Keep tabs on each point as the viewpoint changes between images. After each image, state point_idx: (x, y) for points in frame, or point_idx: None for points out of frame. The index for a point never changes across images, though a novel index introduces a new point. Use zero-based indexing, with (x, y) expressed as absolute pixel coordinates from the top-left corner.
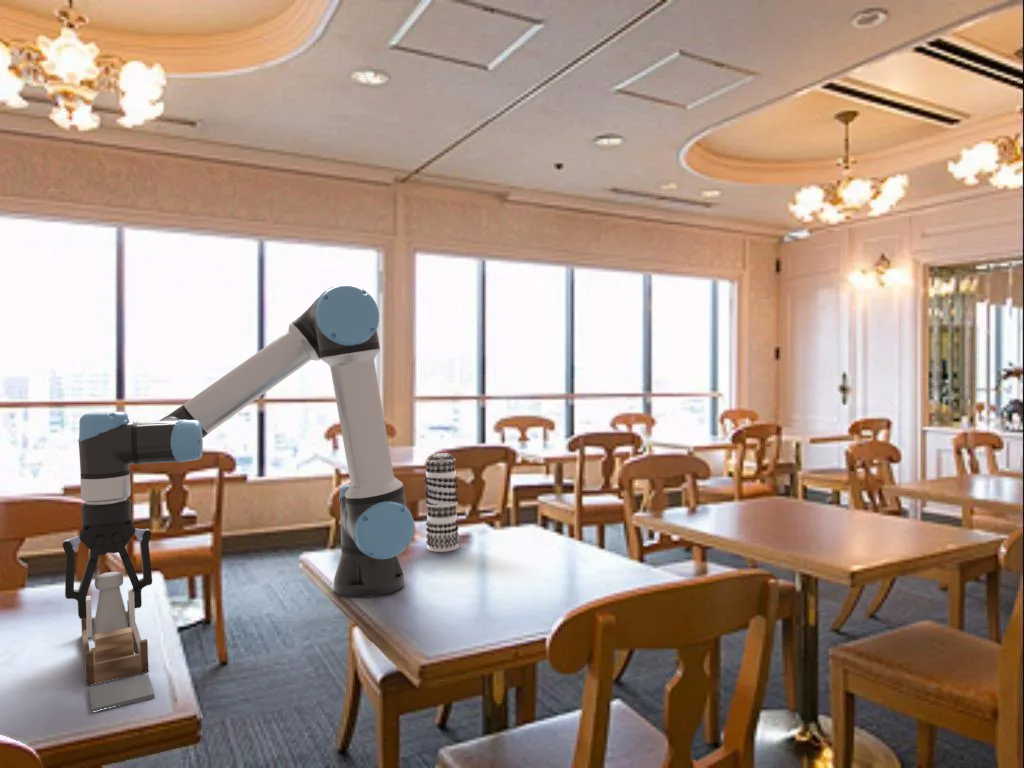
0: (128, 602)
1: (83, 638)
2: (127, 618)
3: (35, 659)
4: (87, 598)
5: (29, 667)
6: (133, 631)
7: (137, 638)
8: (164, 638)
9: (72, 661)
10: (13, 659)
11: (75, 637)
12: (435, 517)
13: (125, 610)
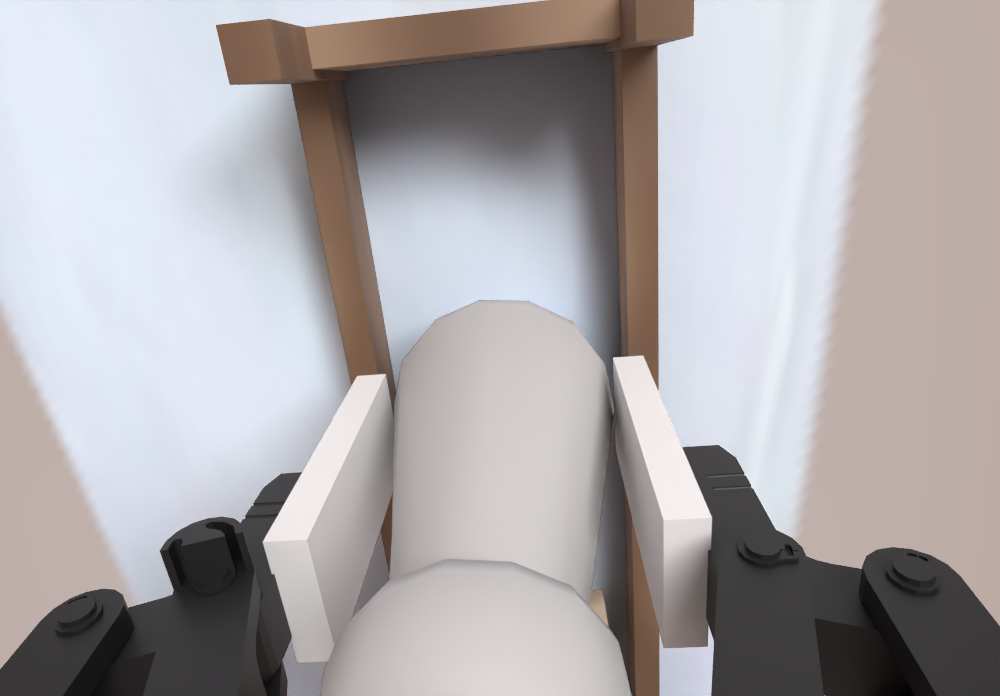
0: (639, 443)
1: (341, 314)
2: (608, 448)
3: (136, 341)
4: (297, 616)
5: (145, 438)
6: (629, 350)
7: None
8: (781, 387)
9: None
10: (10, 277)
11: None
12: None
13: (604, 486)
